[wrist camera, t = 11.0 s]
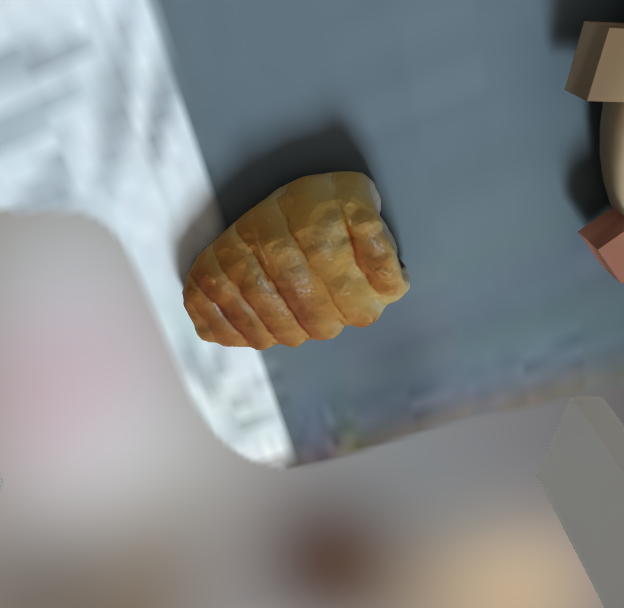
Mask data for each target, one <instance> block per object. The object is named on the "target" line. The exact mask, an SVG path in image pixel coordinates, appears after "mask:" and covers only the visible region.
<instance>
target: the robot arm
mask: <svg viewBox="0 0 624 608" xmlns="http://www.w3.org/2000/svg"><path fill="white" fill-rule="evenodd" d="M537 477H538V479H539V481H540V483H541V485H542V487H543V489H544V491H545V493H546V495H547V497H548V499H549V501H550V503H551V505H552V507H553V508H554V510H555V512H556V514H557V516H558V518H559V520H560V522H561V524H562V526H563V528H564V530H565V532H566V534H567V536H568V538H569V540H570V542H571V543H572V545H573V547H574V549H575V551H576V553H577V555H578V557H579V559H580V561H581V563H582V565H583V567H584V569H585V571H586V573H587V575H588V576H589V578H590V580H591V582H592V584H593V586H594V588H595V590H596V592H597V594H598V596H599V598H600V600H601V602H602V604H603V605H604V608H624V425H623V424H622V423H621V421H620V420H619V419H618V417H617V416H616V415H615V413H614V412H613V410H612V409H611V408H610V407H609V405H608V404H607V402H606V401H605V400H604V398H603V397H602V396H571V398H570V400H569V402H568V405H567V407H566V409H565V412H564V414H563V416H562V419H561V421H560V423H559V426H558V428H557V430H556V433H555V435H554V437H553V440H552V442H551V445H550V447H549V449H548V451H547V454H546V456H545V459H544V461H543V463H542V465H541V468H540V470H539V473H538V475H537ZM2 485H3V481H2V478H1V475H0V490H1V487H2Z"/></svg>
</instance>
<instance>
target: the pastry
mask: <svg viewBox="0 0 624 608" xmlns="http://www.w3.org/2000/svg"><path fill="white" fill-rule="evenodd" d="M380 210H381V199H380V195H379V193H378V191H377V189H376V187H375V183H374V182H373V181H372V180H371V179H370V178H369V177H367V176H366V175H365V174H363V173H360V172H353V171H339V172H331V173H323V174H315V175H309V176H304V177H301V178H298V179H296V180H294V181H292V182H290V183H288V184H286V185H284V186H282V187H279V188H278V189H276V190H275V191H274V192H273V193H272V194H271V195H269V196H268V197H267V198H266V199H265V200H262V201H261V202H259V203H258V204H257V205H255V206H254V207H253V208H252V209H250V210H249V211H247V212H246V213H244V214H243V215H242V216H241V217H240V218H239V219H238V220H237V221H235V222H234V223H233V224H232V225H231V226H230V227H229V228H227V229H226V230H225V231H224V232H223V233H222V234H221V235H220V236H219V237H218V238H217V239H215V240H214V241H213V242H212V243H211V244H210V245H208V246H207V247H206V248H205V249H204V250H203V251H202V252H201V253H200V254H199V255H198V256H197V258H196V259H195V261H194V263H193V265H192V267H191V269H190V271H189V272H188V276H187V278H186V282H185V285H184V288H183V292H182V294H183V298H184V307H185V309H186V311H187V312H188V314H189V316H190V318H191V320H192V321H193V323H194V326H195V330H196V332H197V334H198V335H199V337H200V338H201V339H202V340H205V341H208V342H216V343H219V344H221V345H223V346H228V347H230V346H234V347H235V346H236V347H252V348H254V349H256V350H264V349H267V348H269V347H271V346H273V345H276V344H283V345H287V346H289V347H297V346H299V345H300V344H302V343H303V342H305V341H306V340H309V339H314V340H321V341H322V340H325V339H332V338H335V337H336V336H337V335H339V333H340V332H341V331H342V329H343V328H344V327H345V326H347V325H352V326H356V327H367V326H368V325H370V324H372V323H374V322H375V321H376V320H377V319H378V318H379V317H380V315H381V313H382V312H383V309H384V308H385V307H386V305H387V304H389V303H392V302H395V301H397V300H398V299H400V298H401V297H402V296H403V295H404V294H405V293H406V292H407V291H408V289H409V288H410V277H409V274H408V271H407V268H406V266H405V265H404V263H403V262H402V261H401V259H400V258H399V257H398V256H397V253H398V251H397V245H396V242H395V240H394V238H393V235H392V234H391V233H390V231H389V229H388V226H387V225H386V224H385V222H384V220H383V219H382V218H381V216H380Z"/></svg>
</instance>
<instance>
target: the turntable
mask: <svg viewBox="0 0 624 608" xmlns="http://www.w3.org/2000/svg"><path fill="white" fill-rule="evenodd" d="M565 90H566V91H568V92H570V93H572V94H574V95H576V96H578V97H580V98H582V99H584V100H586V101H600V102H603V107H602V114H601V121H600V161H601V168H602V175H603V182H604V185H605V188H606V192H607V195H608V198H609V201H610V205H611V207H612V208H610V209H609V210H608V211H606V212H605V213H603V214H602V215H601V216H599V217H598V218H596V219H595V220H594V221H592V222H591V223H589V224H588V225H587V226H585V227H584V228H582V229H581V230H580V231H578V232H579V234H580V235H581V237H582V238H583V240H584V241H585V242H586V244H587V245H588V247H589V248H590V250H591V251H592V252H593V254H594V255H595V257H596V258H597V260H598V261H599V262H600V264H601V265H602V266H603V267H604V268H605V269H606V270H607V271H608V272H609V273H610V274H611V275H612V276H613V277H614V278H616V279H617V280H618V281H619V282H620V283H621V284H622V283H623V282H624V23H614V22H593V21H584V24H583V27H582V31H581V34H580V38H579V41H578V45H577V48H576V52H575V55H574V59H573V62H572V66H571V70H570V73H569V77H568V80H567V84H566V87H565Z"/></svg>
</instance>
